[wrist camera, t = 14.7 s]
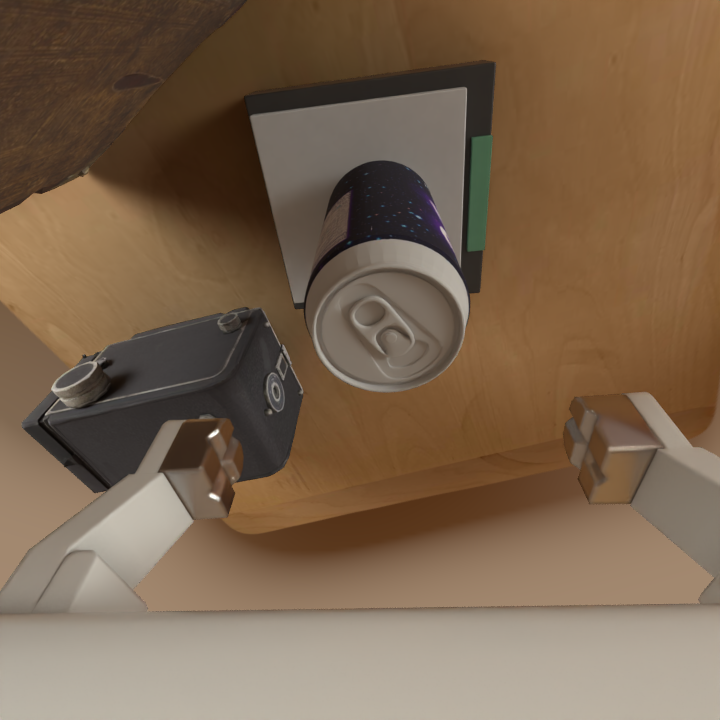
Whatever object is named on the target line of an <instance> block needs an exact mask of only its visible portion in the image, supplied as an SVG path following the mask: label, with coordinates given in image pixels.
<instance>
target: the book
mask: <svg viewBox="0 0 720 720" xmlns="http://www.w3.org/2000/svg"><path fill="white" fill-rule="evenodd" d="M246 1H247V0H0V214H1V213H3V212H5V211H7V210H9V209H11V208H13V207H15V206H17V205H19V204H20V203H22V202H23V201H24V200H25V199H27V198H28V197H29V196H30V195H32V194H33V193H39V194H42V193H45V192H47V191H50V190H52V189H54V188H57V187H59V186H61V185H63V184H65V183H67V182H69V181H72V180H74V179H75V178H77V177H79V176H82V177H83V176H84V175H86V174H87V173H88V171H89V168H90V167H91V165H92V164H93V163H94V162H95V161H96V160H97V159H98V158H99V157H100V156H101V155H102V154H103V153H104V152H105V151H106V150H107V149H108V148H109V147H110V146H111V145H112V143H113V142H114V141H115V140H116V138H117V137H118V136H119V135H120V134H121V133H122V132H123V131H124V130H125V128H126V126H127V125H128V124H129V122H130V121H131V120H132V119H133V118H134V117H135V116H136V114H137V113H138V112H139V111H140V110H141V108H142V107H143V106H144V105H145V103H146V102H147V101H148V100H149V99H150V97H151V96H152V95H153V94H154V92H155V91H156V90H157V89H158V88H159V87H160V86H161V85H162V84H163V83H164V82H165V81H166V80H167V78H168V77H169V76H170V75H171V74H172V73H173V72H174V71H175V70H176V69H177V68H178V67H179V66H180V65H181V64H182V63H183V62H184V61H185V59H186V58H187V57H188V56H189V55H190V54H191V53H192V52H193V51H194V50H195V49H196V48H197V47H198V46H199V45H200V44H201V43H202V42H203V41H204V40H205V39H206V38H207V37H208V36H209V35H211V34H212V33H213V32H214V31H215V30H216V29H217V28H219V27H221V26H222V25H223V24H224V23H225V22H226V21H228V20H229V19H230V18H231V17H232V16H233V15H234V14H235V13H236V12H237V11H238V10H239V9H240V8H241V7H242V6H243V5H244V3H245V2H246Z"/></svg>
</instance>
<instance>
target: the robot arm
mask: <svg viewBox="0 0 720 720" xmlns="http://www.w3.org/2000/svg"><path fill="white" fill-rule="evenodd" d="M569 410H570V412H571V414H572V416H573V417H572V418H571V419H570V420H568V421H567V422H566V423H565V427H564V432H563V439H564V447H565V451H566V454H567V456H568V459H569V461H570V463H571V464H573V465H574V466H576V467H577V468H578V469H580V473H579V476H578V480H579V483H580V485H581V487H582V489H583V491H584V493H585V495H586V498H587V499H588V502H589V504H631V505H630V506H631V507H632V508H633V509H635V510H636V511H637V512H638V513H639V514H641V515H642V516H643V517H644V518H645V519H646V520H647V521H649V522H650V523H651V524H652V525H653V526H655V527H656V528H657V529H658V530H659V531H661V532H662V533H663V534H664V535H665V536H666V537H667V538H669V539H670V540H671V541H672V542H673V543H674V544H676V545H677V546H678V547H679V548H680V549H681V550H683V551H684V552H685V553H686V554H687V555H688V556H690V557H691V558H692V559H693V560H694V561H695V562H697V563H698V564H699V565H700V566H701V567H703V568H704V569H705V570H706V571H707V572H708V573H709V574H711V575H712V576H713V577H714V579H713V580H712V581H711V583H710V584H709V585H708V586H707V587H706V589H705V590H704V591H703V592H702V593H701V595H700V597H699V599H698V600H699V602H700V604H643V605H569V606H503V607H502V606H501V607H500V606H497V607H428V608H427V607H425V608H358V609H298V610H297V609H292V610H222V611H163V612H162V611H160V612H159V611H156V612H147V609H148V607H147V605H146V603H145V602H144V601H143V600H142V599H141V597H140V596H138V594H136V592H135V591H133V589H134V588H135V587H136V586H137V585H138V583H140V581H141V580H142V579H143V578H144V577H145V576H146V575H147V574H148V573H149V571H150V570H151V569H152V568H153V567H154V566H155V565H156V564H157V562H158V561H159V560H160V559H161V558H162V557H163V556H164V555H165V553H166V552H167V551H168V550H169V549H170V548H171V547H172V545H173V544H174V543H175V542H176V541H177V540H178V539H179V538H180V537H181V535H182V534H183V533H184V532H185V531H186V530H187V529H188V528H189V526H190V525H191V524H192V523H193V520H196V519H212V518H227V517H228V514H229V511H230V508H231V505H232V502H233V498H234V495H235V492H234V490H233V488H232V485H233V484H234V483H235V482H236V481H237V480H238V479H239V478H240V476H241V472H242V469H243V458H244V455H243V450H242V446H241V444H240V441H239V440H238V439H236V438H235V437H233V436H232V433H233V430H234V427H233V425H232V423H231V421H230V419H227V418H210V419H187V420H168V421H167V422H165V423H164V424H163V425H162V426H161V428H160V430H159V432H158V433H157V435H156V437H155V439H154V441H153V442H152V444H151V446H150V448H149V449H148V451H147V453H146V455H145V457H144V458H143V460H142V462H141V464H140V465H139V467H138V469H137V471H136V473H135V474H128V475H127V476H126V477H125V478H123V479H122V480H121V481H119V482H118V483H117V484H115V485H114V486H113V487H111V488H110V489H109V490H107V491H106V492H105V493H103V494H102V495H101V496H100V497H98V498H97V499H96V500H94V501H93V502H91V503H90V504H89V505H87V506H86V507H85V508H84V509H82V510H81V511H80V512H78V513H77V514H76V515H74V516H73V517H72V518H70V519H69V520H68V521H66V522H65V523H64V524H62V525H61V526H60V527H58V528H57V529H56V530H54V531H53V532H52V533H51V534H49V535H48V536H46V537H45V538H44V539H43V540H41V541H40V542H39V543H37V544H36V545H35V546H33V547H32V548H31V549H29V550H28V552H27V553H26V555H25V556H24V558H23V559H22V560H21V562H20V564H19V565H18V567H17V568H16V569H15V571H14V572H13V574H12V575H11V576H10V578H9V580H8V581H7V582H6V584H5V585H4V587H3V588H2V590H1V591H0V720H720V457H718V456H716V455H714V454H713V453H711V452H709V451H707V450H705V449H703V448H701V447H693V446H692V445H691V444H690V443H689V441H688V440H687V439H686V438H685V436H684V435H683V434H682V433H681V431H680V430H679V429H678V427H677V426H676V425H675V424H674V422H673V421H672V420H671V419H670V417H669V416H668V415H667V414H666V412H665V411H664V410H663V409H662V407H661V406H660V405H659V403H658V402H657V401H656V400H655V398H654V397H653V396H652V395H651V394H649V393H647V392H636V393H622V394H609V395H594V396H580V397H574V399H573V400H572V401H571V404H570V408H569Z"/></svg>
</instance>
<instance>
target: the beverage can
mask: <svg viewBox="0 0 720 720" xmlns="http://www.w3.org/2000/svg"><path fill="white" fill-rule="evenodd" d="M469 313H470V295H469V289H468V286H467V283H466V280H465V278H464V275H463V273H462V270H461V268H460V265H459V263H458V260H457V258H456V255H455V253H454V250H453V248H452V245H451V243H450V240H449V238H448V235H447V233H446V230H445V228H444V225H443V223H442V220H441V218H440V215H439V213H438V210H437V208H436V205H435V203H434V200H433V198H432V195H431V193H430V190H429V188H428V187H427V185H426V183H425V182H424V181H423V179H422V178H421V177H420V176H419V175H418V174H417V173H416V172H415V171H413V170H412V169H410V168H409V167H407V166H405V165H403V164H400V163H397V162H393V161H386V160H378V161H371V162H367V163H364V164H361V165H359V166H357V167H355V168H353V169H352V170H350V171H349V172H348V173H347V174H345V175H344V176H343V177H342V178H341V180H340V181H339V182H338V183H337V185H336V186H335V188H334V190H333V192H332V194H331V197H330V199H329V203H328V207H327V211H326V215H325V219H324V223H323V227H322V230H321V234H320V238H319V242H318V246H317V250H316V254H315V258H314V262H313V266H312V270H311V274H310V278H309V281H308V285H307V289H306V293H305V298H304V318H305V323H306V326H307V329H308V332H309V334H310V336H311V338H312V342H313V345H314V348H315V351H316V353H317V355H318V357H319V359H320V360H321V362H322V363H323V364H324V366H325V367H326V368H327V369H328V370H329V371H330V372H331V373H332V374H333V375H334V376H336V377H337V378H339V379H340V380H342V381H343V382H345V383H347V384H349V385H351V386H354V387H357V388H360V389H363V390H367V391H373V392H384V393H387V392H399V391H405V390H409V389H413V388H416V387H419V386H421V385H423V384H426V383H428V382H429V381H431V380H433V379H434V378H436V377H437V376H439V375H440V374H441V373H442V372H444V371H445V370H446V369H447V368H448V367H449V366H450V364H451V363H452V362H453V360H454V359H455V358H456V356H457V354H458V352H459V350H460V348H461V346H462V343H463V339H464V334H465V328H466V325H467V322H468V319H469Z"/></svg>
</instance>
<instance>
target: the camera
mask: <svg viewBox="0 0 720 720" xmlns="http://www.w3.org/2000/svg"><path fill="white" fill-rule="evenodd" d="M82 356H83V358H82V360H81V361H80V362H79V363H78V364H77V365H76V366H75V367H74V368H72V369H70V370H69V371H67V372H66V373H64V374H63V375H62V376H61V377H59V378H58V379H57V380H56V381H55V383H54V384H53V386H52V388H51V390H52V391H51V392H50V393H49V394H48V396H47V397H46V398H45V399H44V400H43V401H42V402H41V403H40V404H39V405H38V406H37V407H36V408H35V409H34V411H32V413H30V415H29V416H28V417H27V418H26V419H25V420H24V421H23V422H22V428H23V429H24V430H25V431H26V432H27V433H28V434H30V435H31V436H32V437H33V438H34V439H35V440H36V441H37V442H39V443H40V444H41V445H42V446H43V447H44V448H45V449H46V450H47V451H48V452H50V453H51V454H52V455H53V456H54V457H55V458H56V459H57V460H58V461H60V462H61V463H62V464H63V465H64V467H66V468H67V469H68V470H70V471H71V472H72V473H73V474H74V475H75V476H76V477H77V478H78V479H80V480H81V481H82V482H83V483H84V484H85V485H86V486H87V487H88V488H90V489H91V490H92V491H93V492H94V493H98V492H103V491H107V490H109V489H110V488H111V487H113V486H114V485H115V484H117V483H118V482H119V481H121V480H122V479H123V478H125V477H126V476H127V475H128V474H135V473H136V471H137V469H138V467H139V465H140V464H141V462H142V460H143V458H144V457H145V455H146V453H147V451H148V449H149V448H150V446H151V444H152V442H153V441H154V439H155V437H156V435H157V433H158V432H159V430H160V428H161V426H162V425H163V424H164V423H165V422H167V421H168V420H187V419H210V418H227V419H230V421H231V423H232V425H233V427H234V430H233V433H232V436H233V437H235V438H236V439H238V440H239V441H240V444H241V446H242V450H243V455H244V458H243V469H242V472H241V476H240V478H239V479H238V480H237V481H236V482H241V481H247V480H253V479H258V478H263V477H268V476H271V475H273V474H275V473H276V472H278V471H279V470H281V469H282V468H284V466H285V464H286V462H287V460H288V458H289V456H290V452H291V447H292V443H293V439H294V434H295V429H296V424H297V419H298V415H299V411H300V406H301V402H302V398H303V393H304V392H303V388H302V386H301V384H300V382H299V381H298V379H297V377H296V375H295V373H294V371H293V369H292V367H291V364H292V363H291V361H290V357H289V355H288V353H287V351H286V349H285V347H284V345H283V344H282V345H280V343H279V341H278V339H277V337H276V335H275V333H274V331H273V329H272V326H271V324H270V322H269V320H268V318H267V316H266V314H265V312H264V311H263V310H262V309H261V308H259V307H258V308H254V309H249V308H247V307H244V308H240V309H236V310H232V311H230V312H228V313H226V314H222V313H219V314H214V315H210V316H206V317H202V318H198V319H194V320H190V321H186V322H182V323H177V324H173V325H169V326H165V327H161V328H157V329H153V330H150V331H146V332H142V333H138V334H135V335H134V336H133V337H132V338H131V339H130V340H127V341H122V342H118V343H115V344H111V345H108V346H106V347H105V348H104V350H103V351H100V352H97V353H95V354H94V355H92V356H88V357H87V356H86V355H85V354H84V355H82ZM236 482H235V483H236Z"/></svg>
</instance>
